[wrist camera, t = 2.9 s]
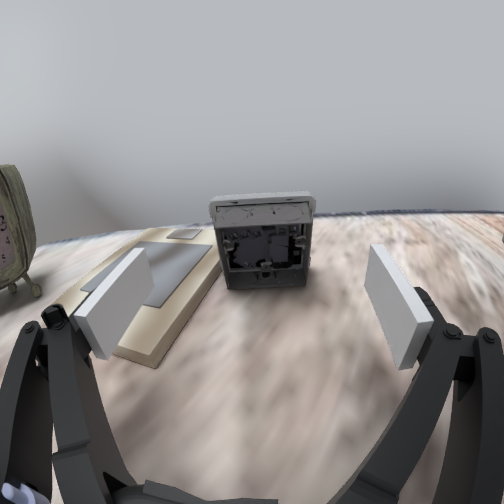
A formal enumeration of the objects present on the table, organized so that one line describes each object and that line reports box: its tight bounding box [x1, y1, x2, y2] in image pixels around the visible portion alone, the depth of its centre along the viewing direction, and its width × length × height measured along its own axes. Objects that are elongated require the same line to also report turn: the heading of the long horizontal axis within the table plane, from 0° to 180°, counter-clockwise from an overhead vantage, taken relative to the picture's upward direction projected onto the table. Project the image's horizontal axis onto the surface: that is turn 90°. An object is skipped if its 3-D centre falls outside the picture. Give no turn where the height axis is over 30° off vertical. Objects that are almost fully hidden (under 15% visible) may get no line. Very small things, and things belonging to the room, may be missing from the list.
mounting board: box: [51, 228, 222, 369], centre depth 28 cm, size 15×22×2 cm
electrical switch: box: [209, 191, 316, 289], centre depth 25 cm, size 9×5×9 cm, turn 89°
